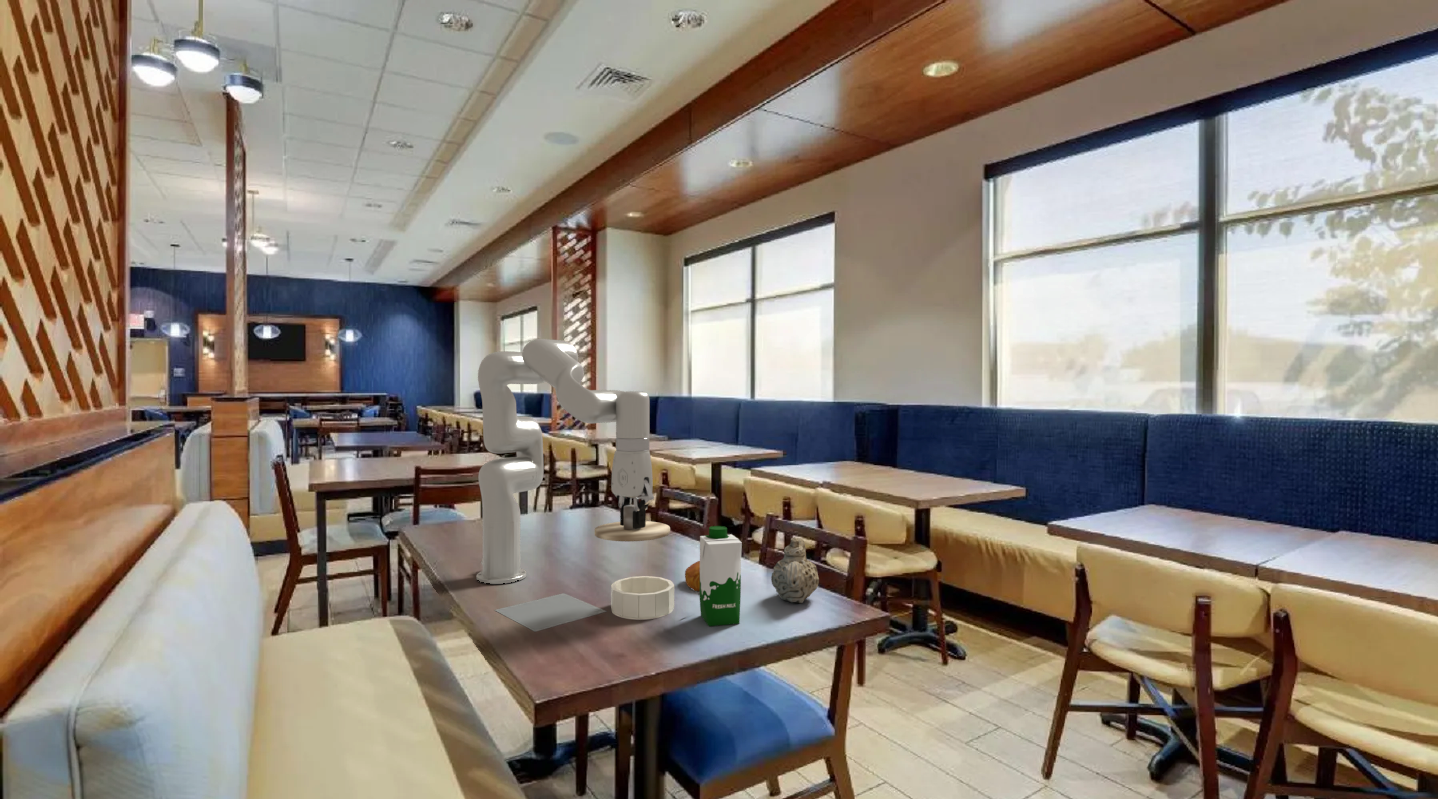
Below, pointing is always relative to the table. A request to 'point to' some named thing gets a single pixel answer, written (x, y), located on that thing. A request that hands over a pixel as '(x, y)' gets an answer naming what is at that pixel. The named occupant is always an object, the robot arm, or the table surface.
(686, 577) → the croissant
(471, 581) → the table surface
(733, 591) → the milk carton
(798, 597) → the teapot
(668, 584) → the bowl
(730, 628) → the table surface
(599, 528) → the lid
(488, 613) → the table surface
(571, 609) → the mat
